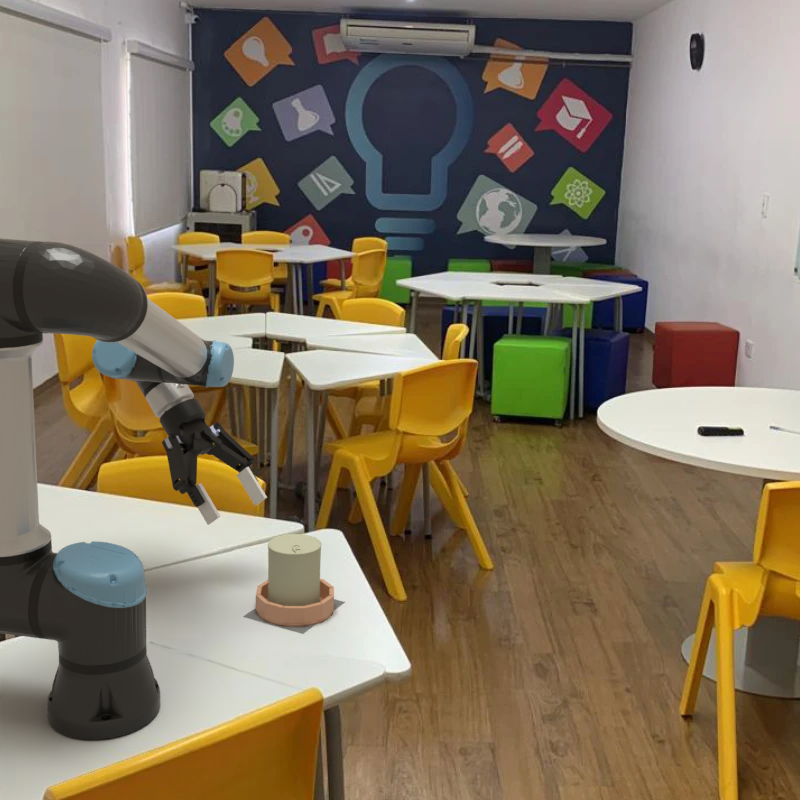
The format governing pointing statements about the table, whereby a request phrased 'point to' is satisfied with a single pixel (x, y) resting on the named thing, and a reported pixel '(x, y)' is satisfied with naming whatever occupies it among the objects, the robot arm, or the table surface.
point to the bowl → (295, 608)
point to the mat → (302, 630)
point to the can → (294, 570)
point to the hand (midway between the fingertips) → (238, 510)
